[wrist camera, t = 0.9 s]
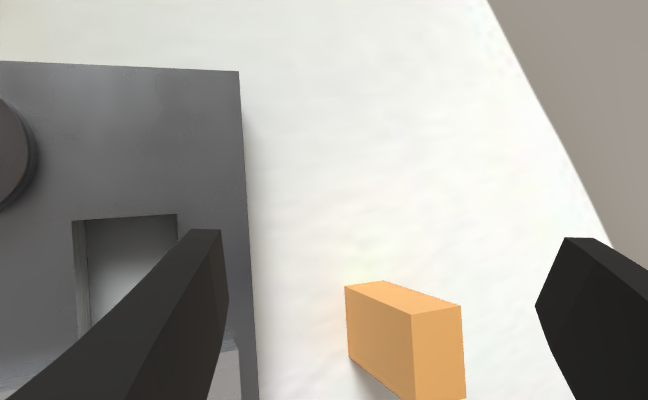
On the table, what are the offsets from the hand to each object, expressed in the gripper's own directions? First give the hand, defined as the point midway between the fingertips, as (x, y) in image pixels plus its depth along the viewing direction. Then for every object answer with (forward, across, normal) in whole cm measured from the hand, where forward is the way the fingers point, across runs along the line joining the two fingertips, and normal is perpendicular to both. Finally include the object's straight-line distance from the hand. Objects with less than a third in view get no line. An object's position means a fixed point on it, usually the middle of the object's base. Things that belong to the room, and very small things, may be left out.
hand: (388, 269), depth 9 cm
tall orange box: (+10, -2, +13) cm, 16 cm away
